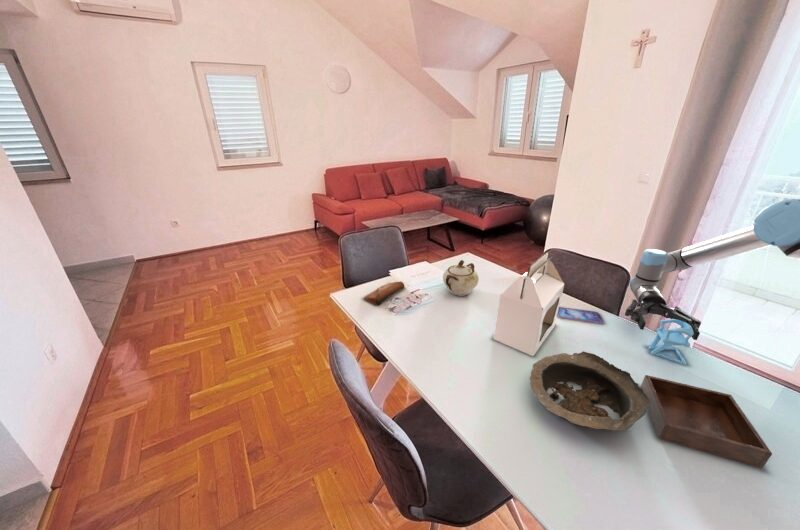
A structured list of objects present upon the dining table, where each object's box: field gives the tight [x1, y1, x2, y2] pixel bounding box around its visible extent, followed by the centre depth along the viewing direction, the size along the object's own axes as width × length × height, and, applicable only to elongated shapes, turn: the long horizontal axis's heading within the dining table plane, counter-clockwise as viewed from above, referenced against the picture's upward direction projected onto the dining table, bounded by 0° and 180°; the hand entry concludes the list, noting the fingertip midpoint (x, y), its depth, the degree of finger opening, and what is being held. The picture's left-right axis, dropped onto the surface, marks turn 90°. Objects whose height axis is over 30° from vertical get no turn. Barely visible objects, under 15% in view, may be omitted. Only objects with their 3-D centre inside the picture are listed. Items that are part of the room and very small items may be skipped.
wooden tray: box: [639, 374, 773, 469], centre depth 74 cm, size 18×17×5 cm
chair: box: [647, 318, 694, 366], centre depth 95 cm, size 8×8×12 cm
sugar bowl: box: [442, 259, 480, 297], centre depth 133 cm, size 20×15×15 cm
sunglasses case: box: [363, 281, 405, 306], centre depth 133 cm, size 18×7×7 cm
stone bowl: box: [529, 351, 650, 432], centre depth 78 cm, size 25×25×9 cm
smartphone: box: [557, 306, 604, 324], centre depth 118 cm, size 7×1×15 cm
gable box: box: [493, 251, 565, 357], centre depth 103 cm, size 22×13×28 cm, turn 139°
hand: (669, 331), depth 97 cm, fingers open, 13 cm apart
